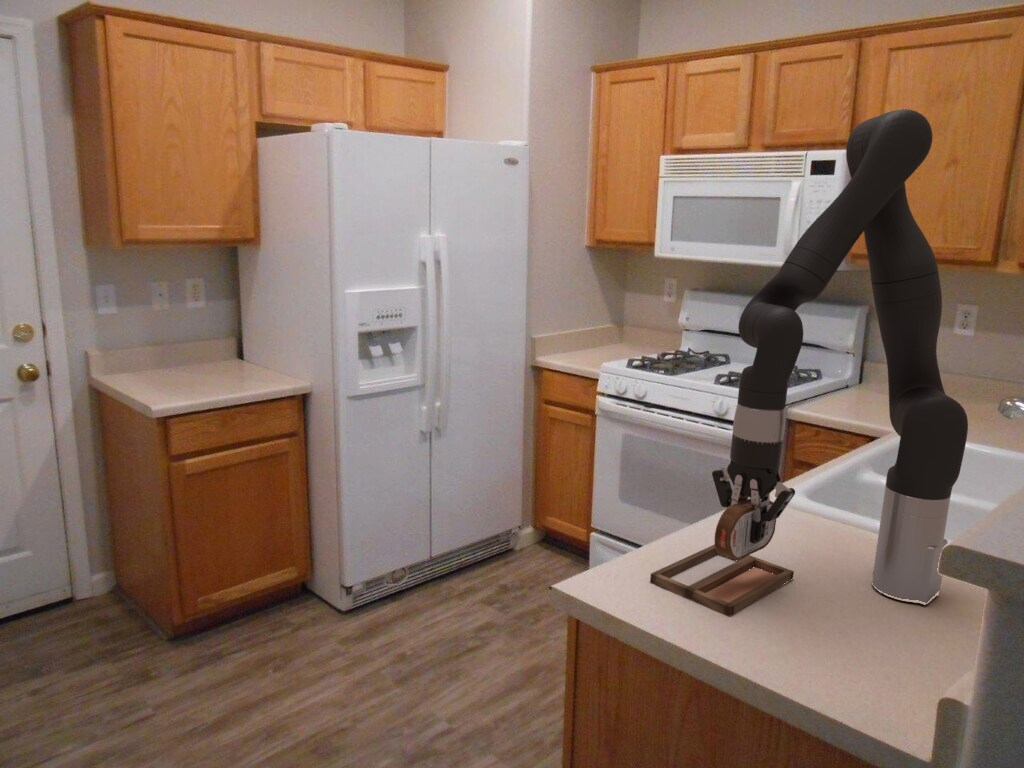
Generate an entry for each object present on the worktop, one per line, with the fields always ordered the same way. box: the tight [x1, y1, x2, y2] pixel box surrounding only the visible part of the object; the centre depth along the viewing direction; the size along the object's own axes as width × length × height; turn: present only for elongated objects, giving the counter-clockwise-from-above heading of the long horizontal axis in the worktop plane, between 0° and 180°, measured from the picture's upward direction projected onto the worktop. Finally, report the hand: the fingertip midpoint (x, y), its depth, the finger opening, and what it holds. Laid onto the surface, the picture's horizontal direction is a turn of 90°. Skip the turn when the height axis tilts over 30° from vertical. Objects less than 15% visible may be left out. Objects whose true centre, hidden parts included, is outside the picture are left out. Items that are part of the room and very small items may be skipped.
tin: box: [714, 497, 777, 561], centre depth 124 cm, size 15×3×8 cm, turn 133°
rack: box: [649, 543, 795, 617], centre depth 129 cm, size 15×20×2 cm
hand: (745, 538), depth 125 cm, fingers closed on tin, 2 cm apart
